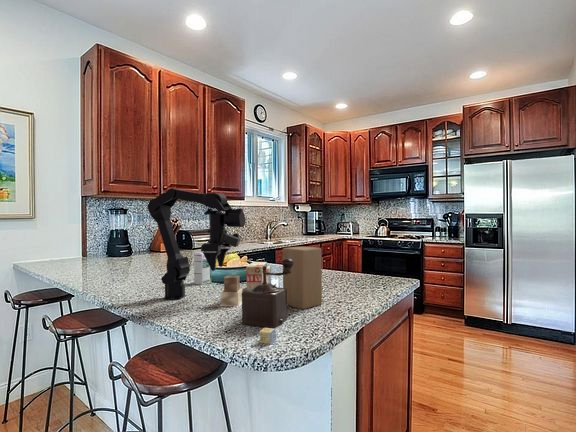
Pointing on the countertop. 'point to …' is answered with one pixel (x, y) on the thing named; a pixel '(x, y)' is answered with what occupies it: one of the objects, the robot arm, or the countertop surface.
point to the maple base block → (231, 298)
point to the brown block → (231, 283)
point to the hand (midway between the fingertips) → (217, 268)
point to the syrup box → (201, 269)
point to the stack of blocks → (256, 274)
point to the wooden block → (303, 277)
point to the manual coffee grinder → (266, 302)
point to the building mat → (231, 305)
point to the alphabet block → (267, 335)
